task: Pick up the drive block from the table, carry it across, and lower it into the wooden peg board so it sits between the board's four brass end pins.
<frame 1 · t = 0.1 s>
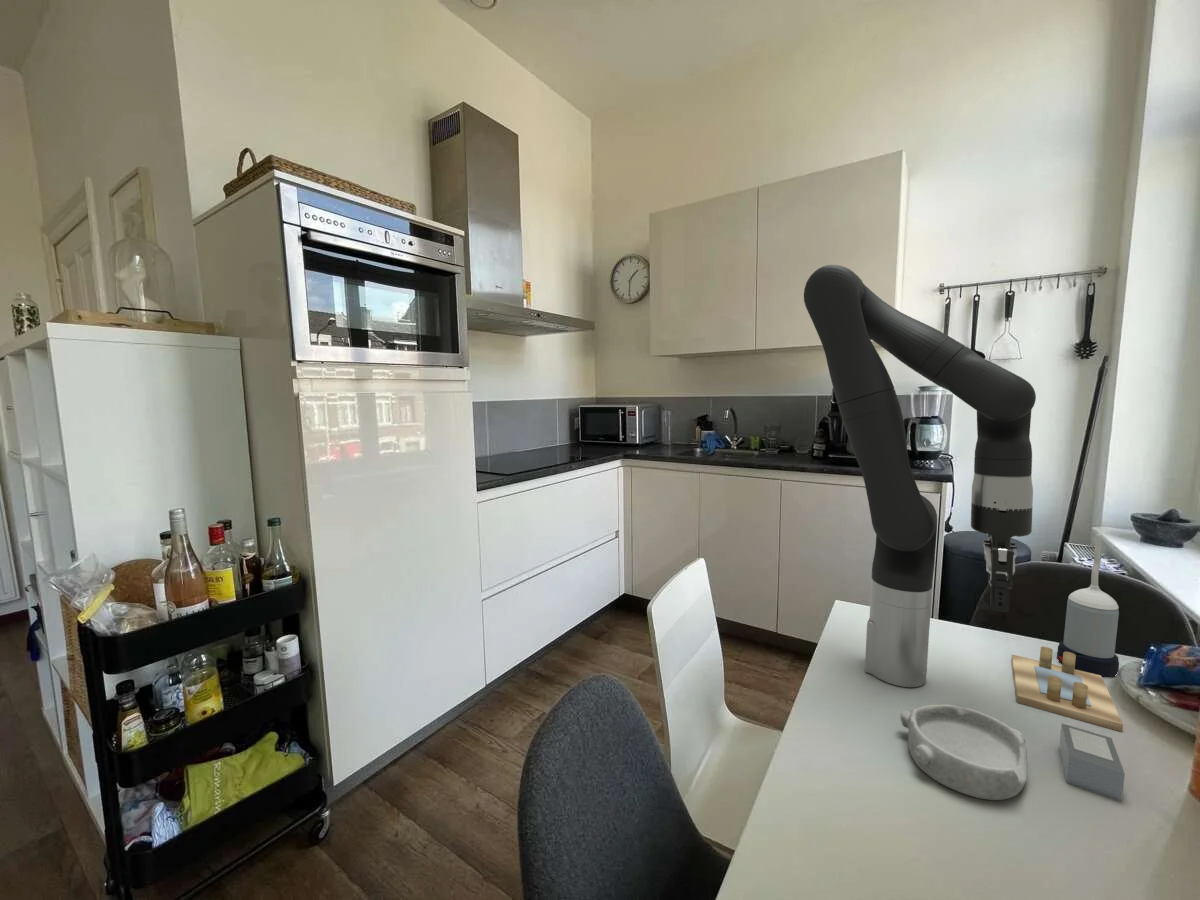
hand: (997, 601, 79), 17 cm above the table, tool pointing down, fingers open, 8 cm apart
wooden peg board: (1060, 691, 83), on the table
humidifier: (1086, 666, 91), on the table
drive block: (1087, 774, 65), on the table
dish: (961, 766, 67), on the table
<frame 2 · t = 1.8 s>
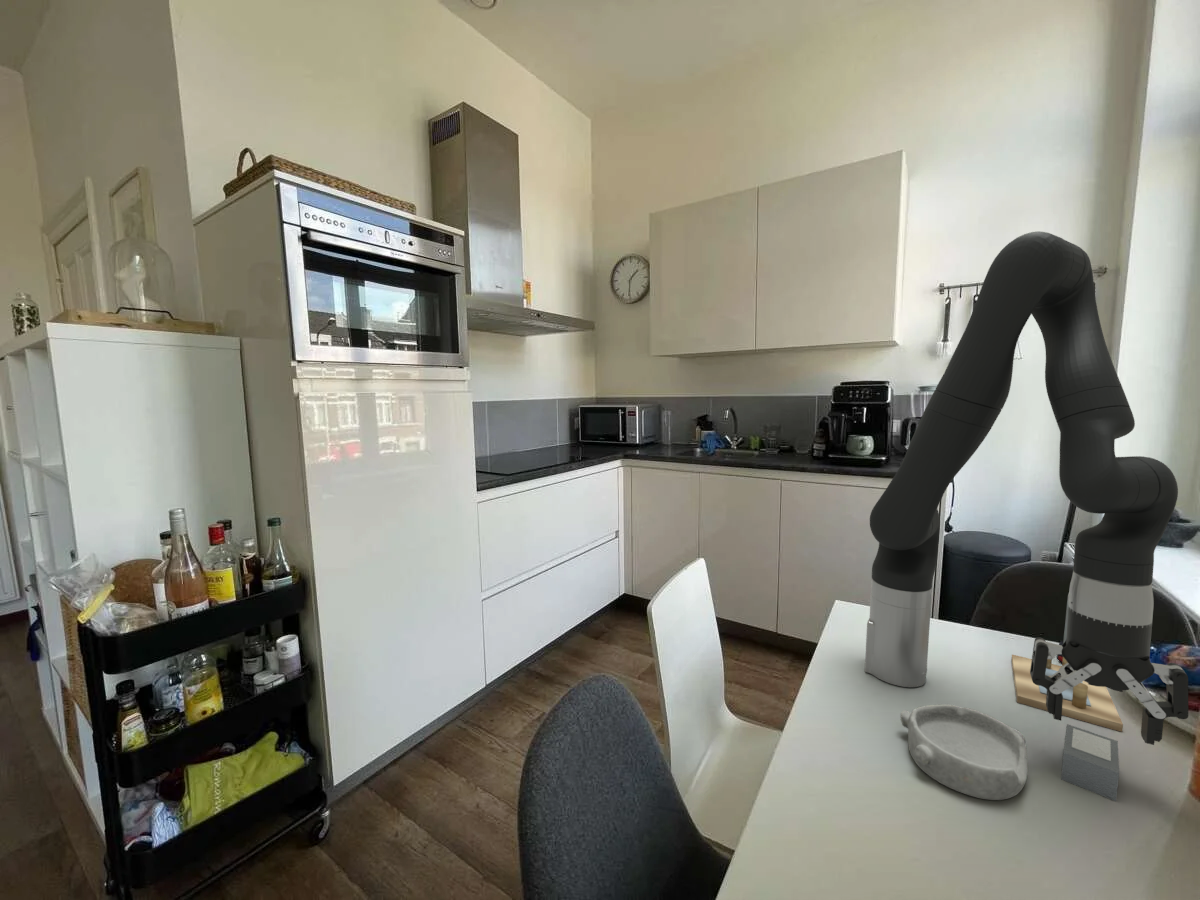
hand: (1100, 728, 65), 6 cm above the table, tool pointing down, fingers open, 8 cm apart
nothing on the table moved.
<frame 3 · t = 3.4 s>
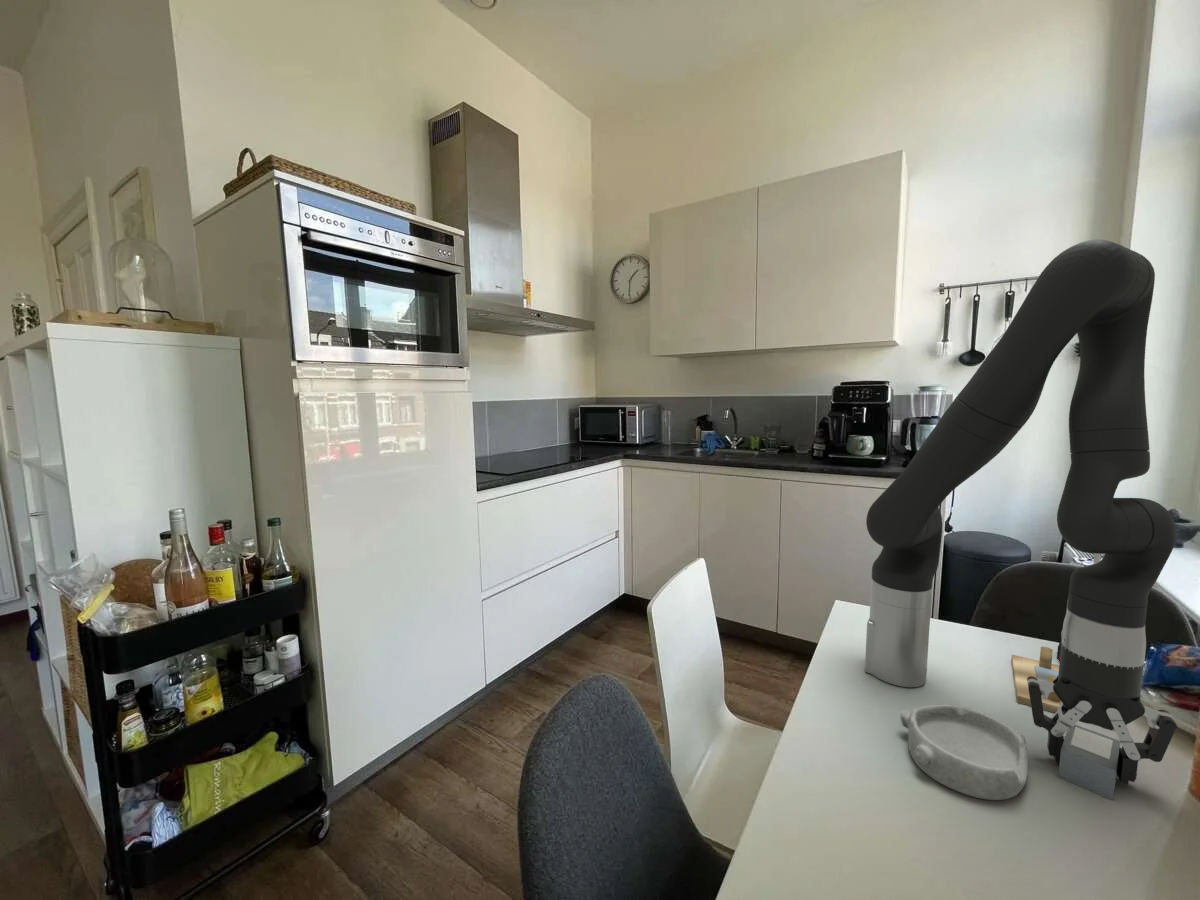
hand: (1089, 768, 65), 1 cm above the table, tool pointing down, fingers closed on drive block, 5 cm apart
drive block: (1088, 772, 65), on the table, touching gripper
everything else where it was.
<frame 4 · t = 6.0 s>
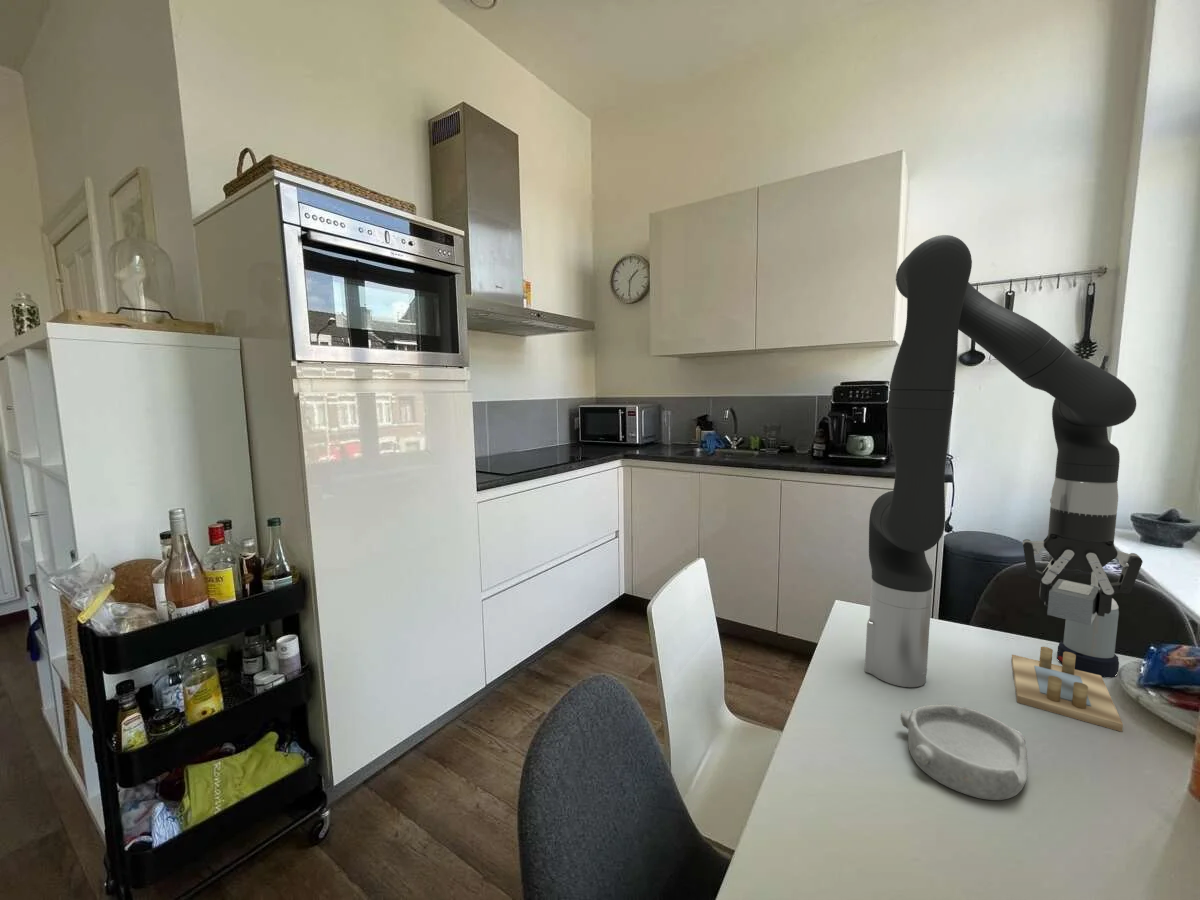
hand: (1073, 609, 79), 16 cm above the table, tool pointing down, fingers closed on drive block, 5 cm apart
drive block: (1072, 612, 79), point 15 cm above the table, touching gripper
everything else where it was.
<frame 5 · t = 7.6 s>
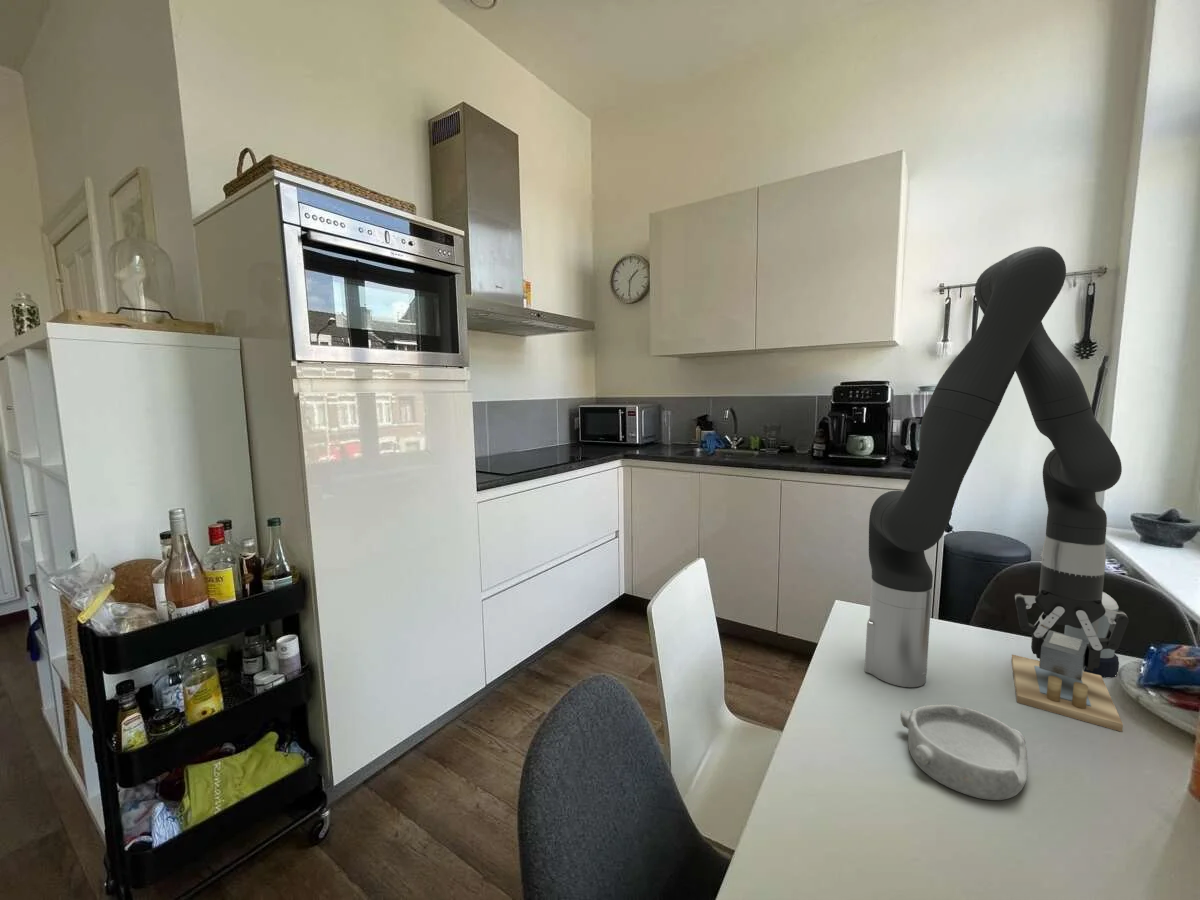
hand: (1063, 662, 83), 5 cm above the table, tool pointing down, fingers closed on drive block, 5 cm apart
drive block: (1063, 665, 83), point 5 cm above the table, touching gripper
everything else where it was.
when the fingers open (3 cm above the table, at t = 8.9 s): drive block drops 1 cm, resting on wooden peg board.
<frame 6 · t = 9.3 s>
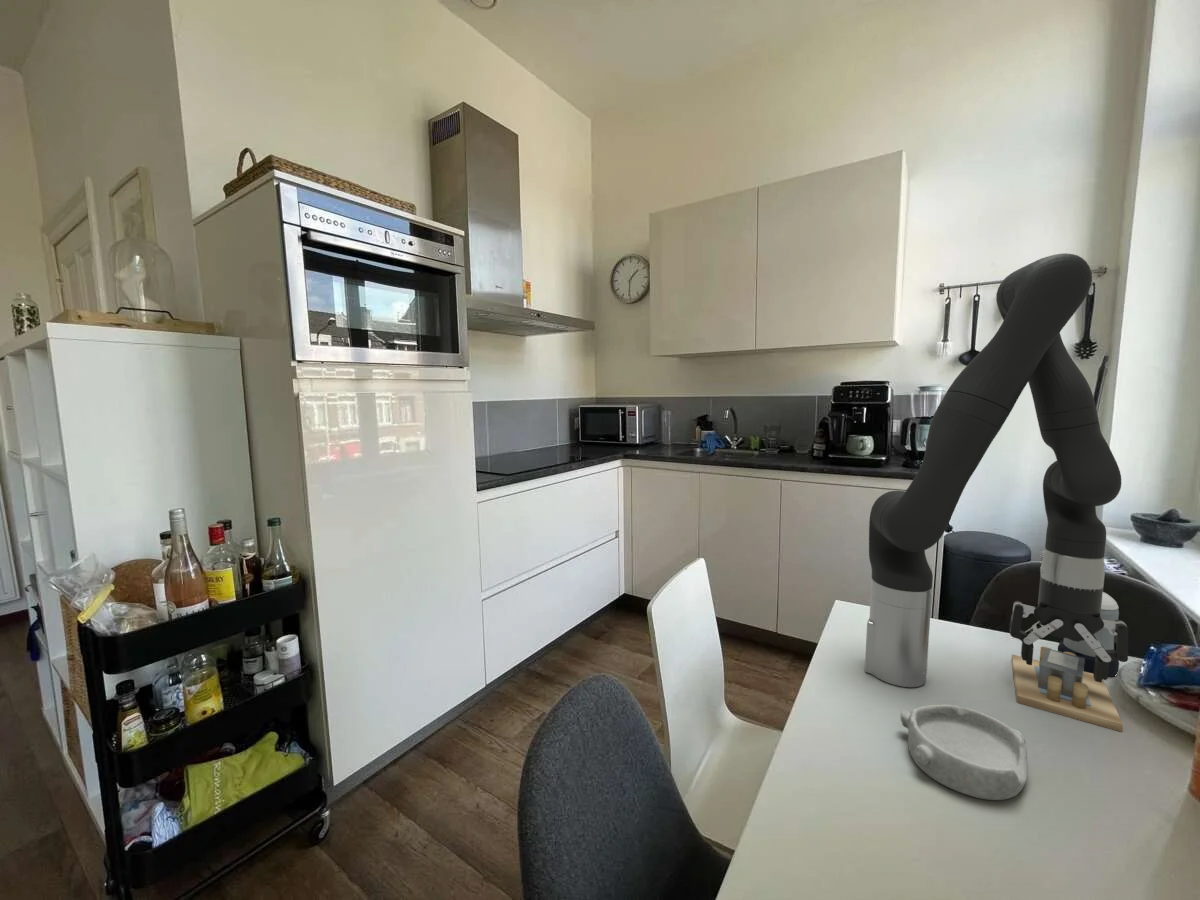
hand: (1062, 671, 83), 4 cm above the table, tool pointing down, fingers open, 8 cm apart
drive block: (1060, 683, 83), point 1 cm above the table, touching wooden peg board
everything else where it was.
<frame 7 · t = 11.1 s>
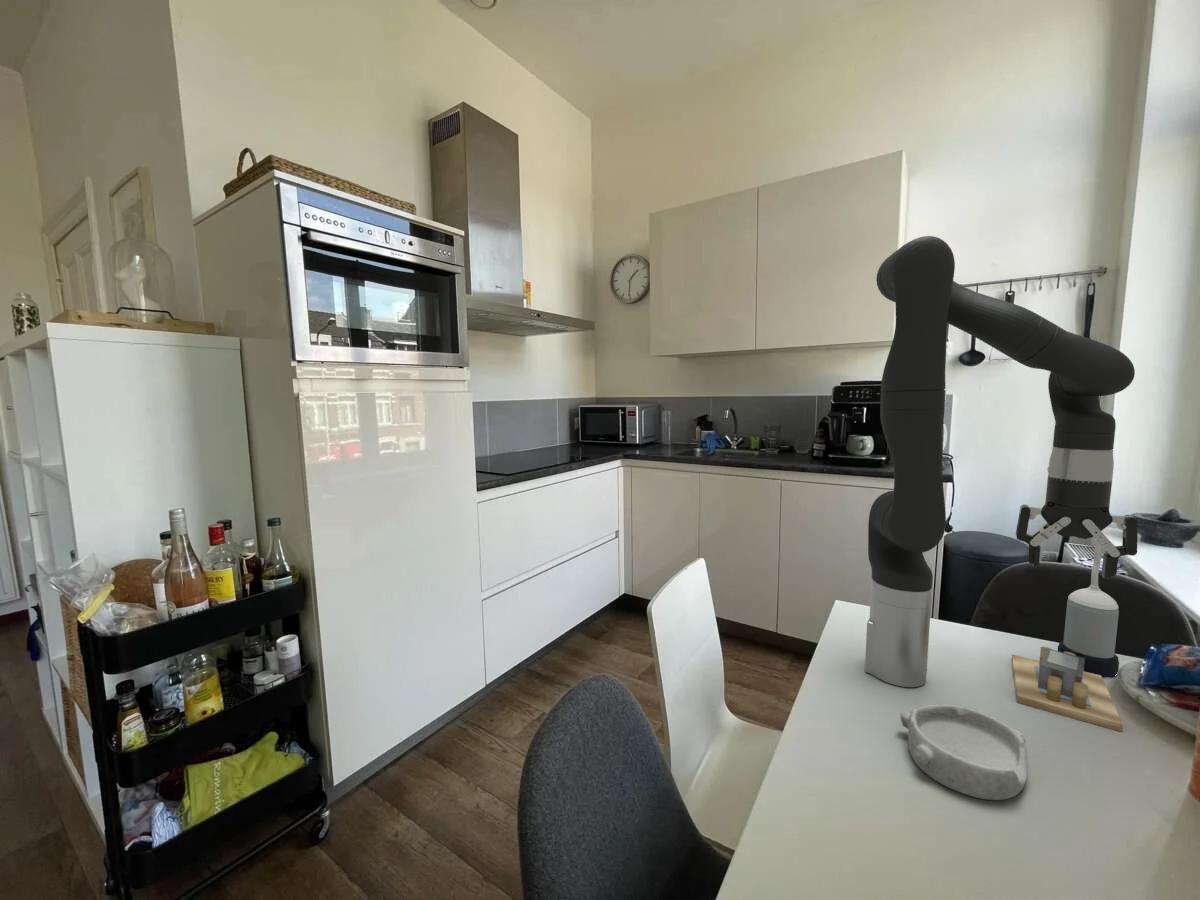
hand: (1069, 571, 81), 21 cm above the table, tool pointing down, fingers open, 8 cm apart
nothing on the table moved.
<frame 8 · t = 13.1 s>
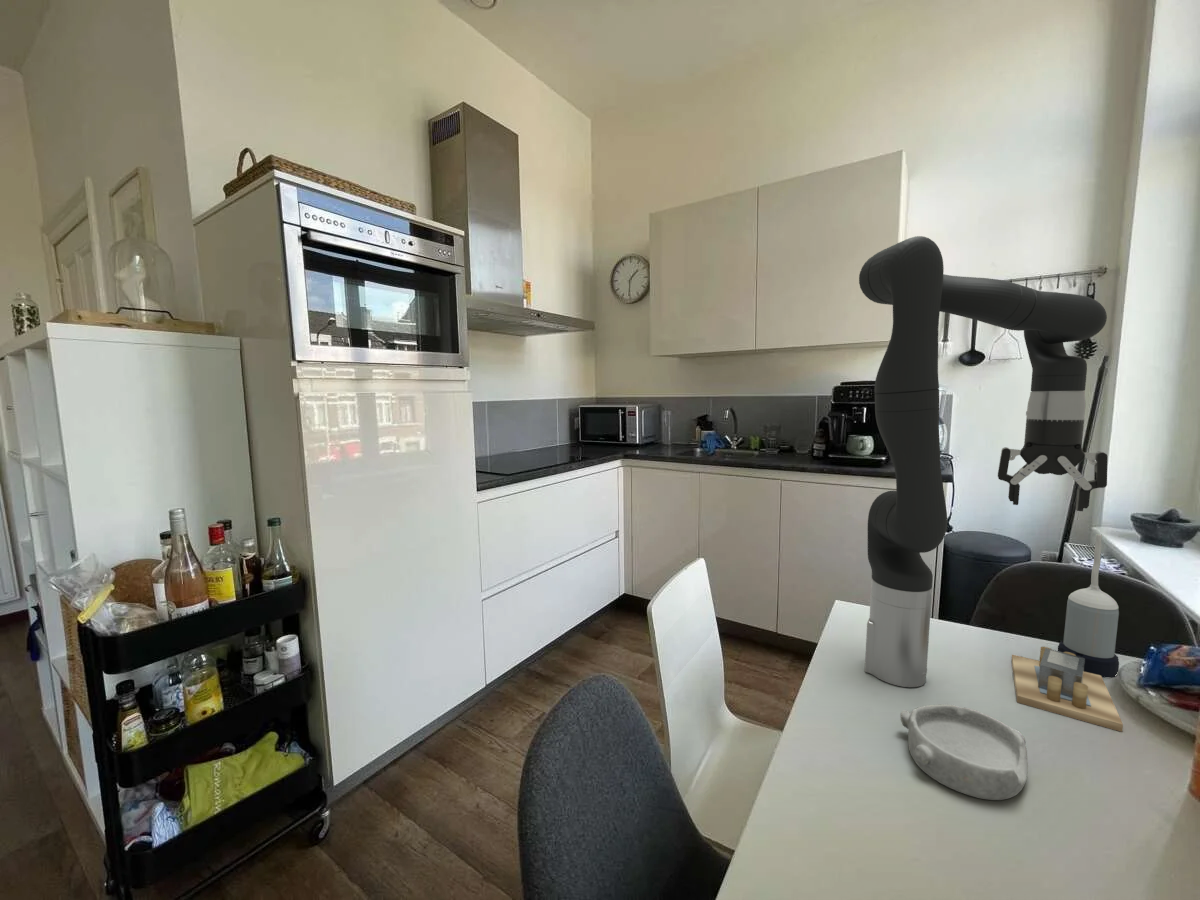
hand: (1046, 507, 88), 30 cm above the table, tool pointing down, fingers open, 8 cm apart
nothing on the table moved.
at the end: drive block 0.1 cm off-centre on the wooden peg board, point 1.4 cm above the wooden peg board's base; drive block tilted 0°; the gripper is holding nothing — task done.
